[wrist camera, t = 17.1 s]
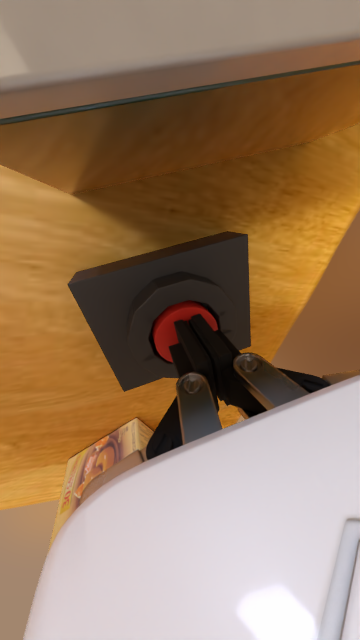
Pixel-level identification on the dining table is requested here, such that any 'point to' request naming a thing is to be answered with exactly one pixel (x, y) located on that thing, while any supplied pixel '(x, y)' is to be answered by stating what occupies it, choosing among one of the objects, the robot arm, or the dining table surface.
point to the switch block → (164, 300)
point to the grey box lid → (160, 46)
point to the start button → (165, 324)
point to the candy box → (97, 465)
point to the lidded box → (179, 128)
